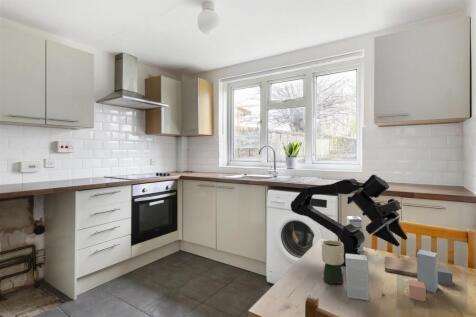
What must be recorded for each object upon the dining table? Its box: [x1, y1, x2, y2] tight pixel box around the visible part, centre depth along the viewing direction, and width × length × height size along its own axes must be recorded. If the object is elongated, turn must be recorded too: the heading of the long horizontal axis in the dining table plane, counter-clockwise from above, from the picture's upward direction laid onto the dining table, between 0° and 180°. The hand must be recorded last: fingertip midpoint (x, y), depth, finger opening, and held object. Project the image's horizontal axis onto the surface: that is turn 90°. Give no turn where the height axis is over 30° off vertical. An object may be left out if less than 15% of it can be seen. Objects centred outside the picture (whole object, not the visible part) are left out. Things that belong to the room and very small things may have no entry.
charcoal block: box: [438, 266, 454, 287], centre depth 85 cm, size 4×4×4 cm
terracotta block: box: [407, 279, 427, 303], centre depth 76 cm, size 4×4×4 cm
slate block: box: [416, 249, 439, 294], centre depth 81 cm, size 4×4×11 cm
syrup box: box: [346, 215, 364, 252], centre depth 116 cm, size 6×6×14 cm
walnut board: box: [384, 256, 417, 278], centre depth 96 cm, size 12×12×1 cm
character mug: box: [321, 239, 344, 284], centre depth 87 cm, size 11×7×13 cm, turn 14°
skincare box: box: [345, 254, 370, 301], centre depth 77 cm, size 6×4×12 cm
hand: (402, 242), depth 86 cm, fingers open, 9 cm apart
